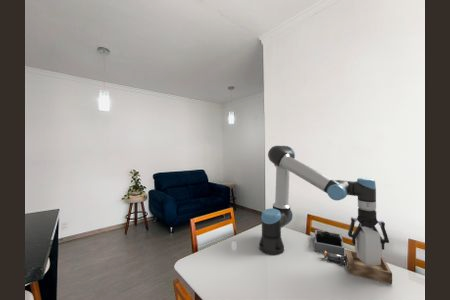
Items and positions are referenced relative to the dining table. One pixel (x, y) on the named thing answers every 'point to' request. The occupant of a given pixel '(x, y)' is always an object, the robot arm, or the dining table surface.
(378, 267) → the wooden tray
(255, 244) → the dining table surface
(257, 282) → the dining table surface
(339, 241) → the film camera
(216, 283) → the dining table surface
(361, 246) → the milk carton
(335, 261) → the pin mount
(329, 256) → the lock pin
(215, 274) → the dining table surface
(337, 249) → the valet tray
